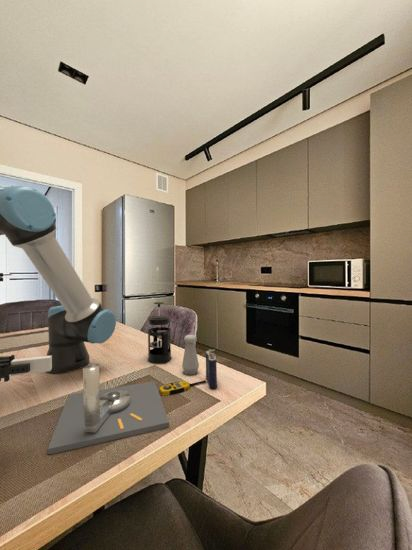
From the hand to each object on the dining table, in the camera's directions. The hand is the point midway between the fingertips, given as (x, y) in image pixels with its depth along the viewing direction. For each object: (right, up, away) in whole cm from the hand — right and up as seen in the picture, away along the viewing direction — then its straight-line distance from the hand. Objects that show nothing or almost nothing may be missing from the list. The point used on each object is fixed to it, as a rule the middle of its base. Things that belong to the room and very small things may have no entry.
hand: (50, 363), depth 50 cm
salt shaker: (+26, -16, +36) cm, 47 cm away
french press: (+13, -16, +48) cm, 53 cm away
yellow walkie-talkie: (+25, -17, +25) cm, 39 cm away
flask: (+33, -17, +28) cm, 47 cm away
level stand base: (+8, -17, +14) cm, 23 cm away
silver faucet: (+7, -15, +10) cm, 20 cm away
